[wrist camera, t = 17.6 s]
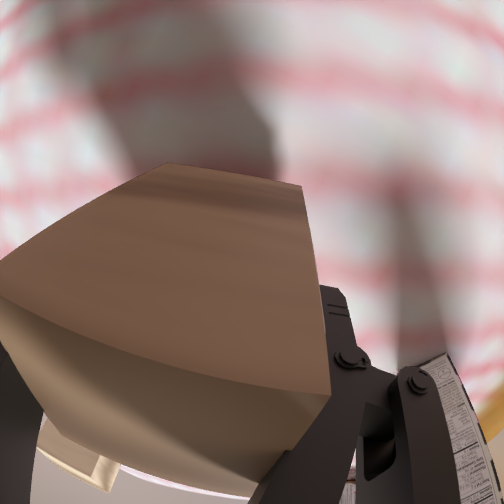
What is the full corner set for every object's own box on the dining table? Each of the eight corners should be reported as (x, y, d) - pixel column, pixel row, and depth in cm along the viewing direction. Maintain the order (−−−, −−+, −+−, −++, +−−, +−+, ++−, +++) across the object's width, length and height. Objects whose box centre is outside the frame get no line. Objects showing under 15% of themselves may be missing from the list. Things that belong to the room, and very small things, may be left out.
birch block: (79, 368, 23) (32, 443, 14) (131, 389, 22) (90, 477, 14) (93, 400, 25) (57, 467, 16) (139, 418, 25) (109, 493, 16)
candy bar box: (451, 406, 22) (483, 531, 7) (410, 424, 23) (431, 553, 8) (449, 347, 18) (511, 525, 3) (395, 372, 19) (430, 562, 5)
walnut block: (167, 162, 12) (-25, 280, 3) (301, 186, 12) (330, 394, 3) (162, 275, 15) (62, 435, 6) (273, 299, 15) (250, 497, 6)
